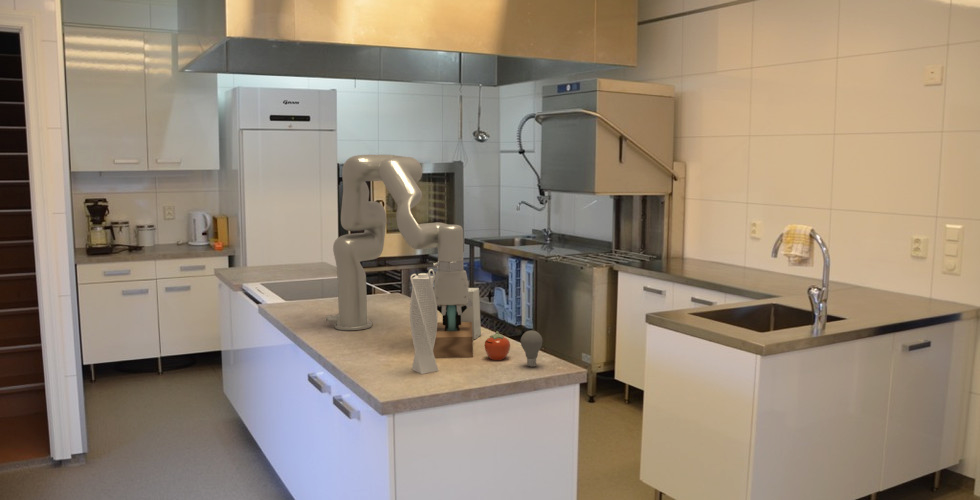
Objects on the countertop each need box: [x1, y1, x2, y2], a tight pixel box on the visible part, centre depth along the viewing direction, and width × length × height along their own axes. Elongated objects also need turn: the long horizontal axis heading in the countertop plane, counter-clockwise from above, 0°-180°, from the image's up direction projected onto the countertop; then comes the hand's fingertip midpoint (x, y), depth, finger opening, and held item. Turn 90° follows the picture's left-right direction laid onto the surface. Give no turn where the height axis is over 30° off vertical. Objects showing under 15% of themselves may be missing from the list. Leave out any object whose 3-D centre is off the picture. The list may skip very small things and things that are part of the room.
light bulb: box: [520, 329, 543, 368], centre depth 216 cm, size 6×6×10 cm
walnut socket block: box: [433, 321, 474, 359], centre depth 237 cm, size 12×20×6 cm, turn 2°
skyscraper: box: [409, 268, 439, 375], centre depth 212 cm, size 8×8×28 cm
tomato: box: [483, 330, 511, 361], centre depth 225 cm, size 7×7×8 cm
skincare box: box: [461, 287, 482, 340], centre depth 251 cm, size 8×7×16 cm
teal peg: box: [446, 305, 457, 331], centre depth 236 cm, size 3×3×10 cm
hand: (451, 326), depth 236 cm, fingers closed on teal peg, 2 cm apart
